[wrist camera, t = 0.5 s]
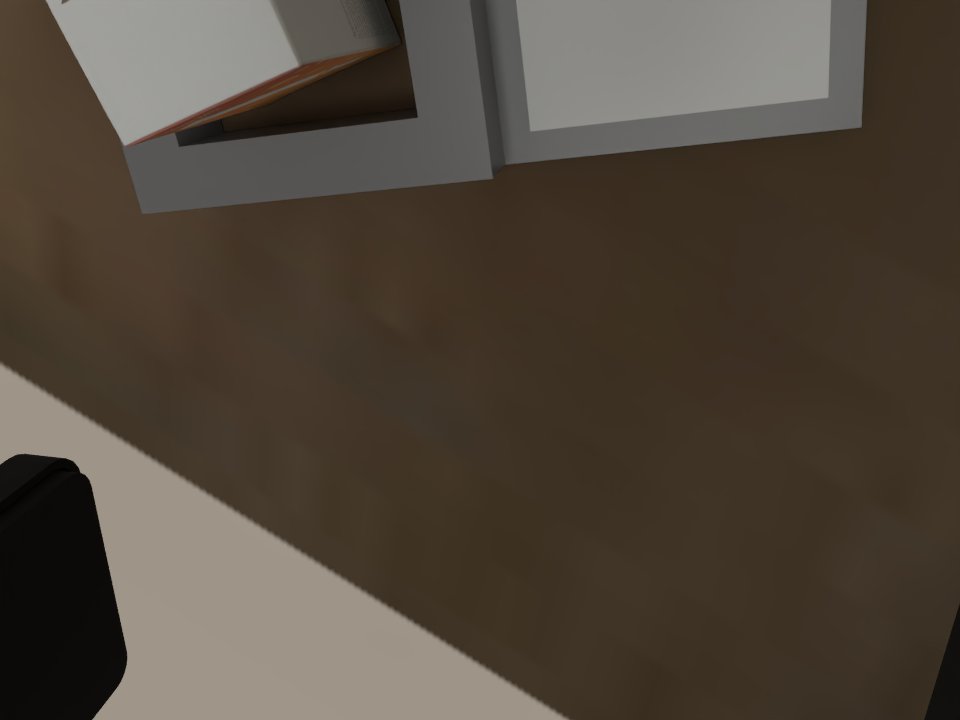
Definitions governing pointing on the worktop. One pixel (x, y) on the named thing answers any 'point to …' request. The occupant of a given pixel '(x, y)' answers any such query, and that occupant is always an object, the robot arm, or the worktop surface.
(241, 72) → the small box
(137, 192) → the case
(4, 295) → the worktop surface
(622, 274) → the worktop surface
